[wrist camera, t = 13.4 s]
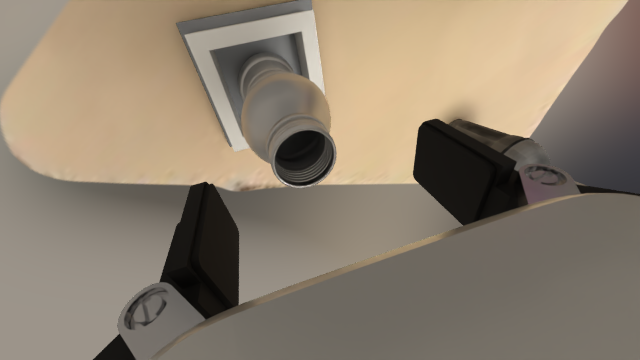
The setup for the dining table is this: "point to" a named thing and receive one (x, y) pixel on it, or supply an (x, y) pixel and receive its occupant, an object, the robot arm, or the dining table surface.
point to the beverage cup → (506, 144)
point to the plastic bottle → (286, 120)
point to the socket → (249, 53)
